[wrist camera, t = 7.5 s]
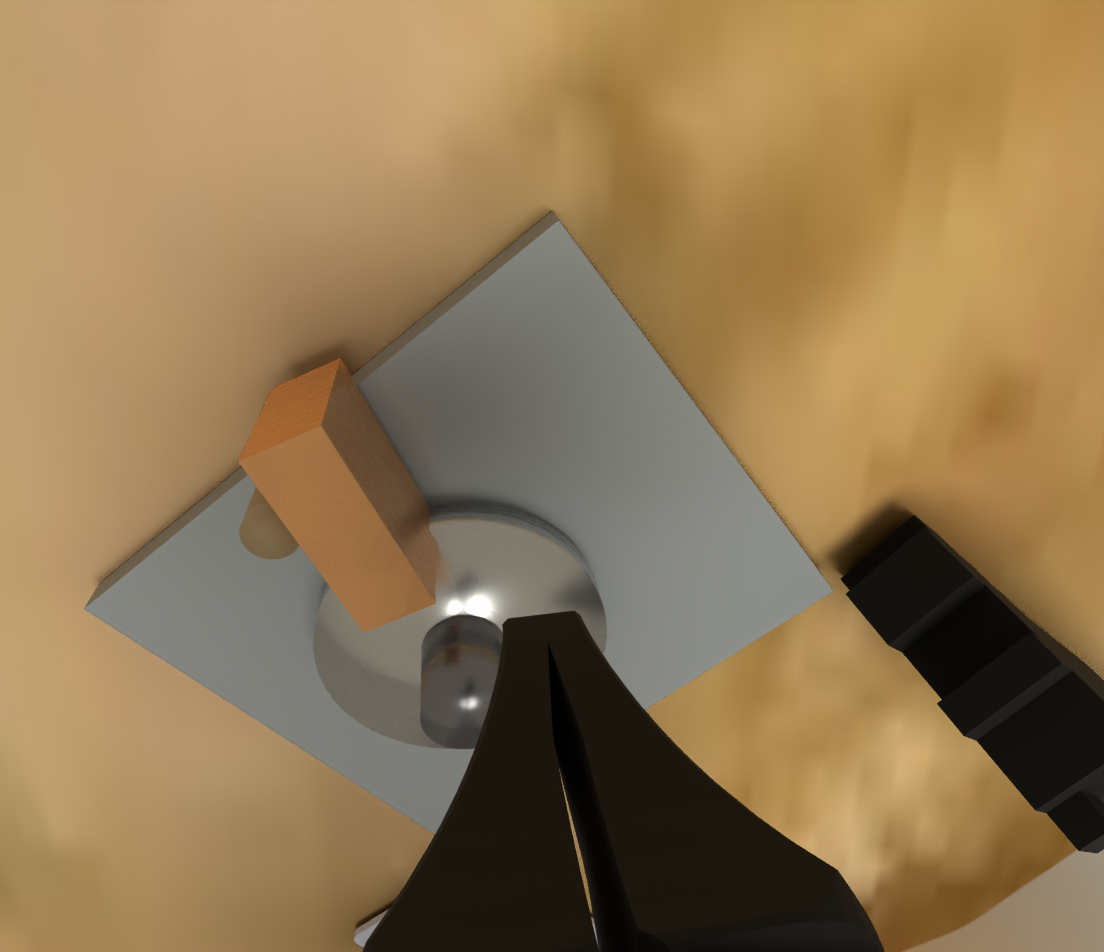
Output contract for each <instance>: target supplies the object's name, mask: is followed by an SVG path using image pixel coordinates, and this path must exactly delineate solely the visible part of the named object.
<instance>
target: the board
mask: <svg viewBox="0 0 1104 952" xmlns="http://www.w3.org/2000/svg"><path fill="white" fill-rule="evenodd" d="M352 378H353V380H354V381H355V383H356V385H357V387H358V388H359V390H360V392H361V393H362V395H363V397H364V398H365V400H366V402H367V403H368V405H369V407H370V408H371V410H372V412H373V413H374V415H375V417H376V418H377V420H378V422H379V423H380V425H381V427H382V428H383V430H384V432H385V433H386V435H387V437H388V438H389V440H390V442H391V444H392V445H393V447H394V449H395V450H396V452H397V454H398V455H399V457H400V459H401V460H402V462H403V464H404V465H405V467H406V469H407V470H408V472H409V474H410V475H411V477H412V479H413V480H414V482H415V484H416V485H417V487H418V489H419V490H420V492H421V494H422V496H423V497H424V499H425V501H426V502H427V504H428V506H429V507H434V506H441V505H450V504H483V505H492V506H498V507H503V508H507V509H512V510H515V511H518V512H521V513H524V514H527V515H530V516H532V517H534V518H536V519H538V520H540V521H542V522H544V523H546V524H548V525H550V526H551V527H553V528H554V529H556V530H557V531H558V532H560V533H561V534H563V535H564V536H565V537H566V538H567V539H568V540H569V541H570V542H572V543H573V544H574V545H575V547H576V548H577V549H578V550H579V551H580V553H581V554H582V555H583V556H584V558H585V559H586V561H587V563H588V565H589V566H590V568H591V570H592V572H593V575H594V577H595V580H596V583H597V586H598V589H599V593H600V596H601V599H602V603H603V606H604V611H605V616H606V621H607V639H606V646H605V651H604V657H605V658H606V660H607V661H608V663H609V664H610V665H611V667H612V668H613V670H614V671H615V672H616V674H617V675H618V676H619V678H620V679H621V680H622V682H623V683H624V684H625V686H626V687H627V688H628V690H629V691H630V692H631V694H632V695H633V696H634V697H635V699H636V700H637V701H638V702H639V704H640V705H641V706H642V707H643V709H644V710H645V709H647V708H649V707H650V706H652V705H653V704H655V703H656V702H658V701H660V700H661V699H663V698H664V697H666V696H668V695H669V694H671V693H672V692H674V691H676V690H677V689H679V688H680V687H682V686H684V685H685V684H687V683H688V682H690V681H692V680H693V679H695V678H696V677H698V676H699V675H701V674H703V673H704V672H706V671H707V670H709V669H711V668H712V667H714V666H715V665H717V664H719V663H720V662H722V661H723V660H725V659H727V658H728V657H730V656H731V655H733V654H734V653H736V652H738V651H739V650H741V649H742V648H744V647H746V646H747V645H749V644H750V643H752V642H754V641H755V640H757V639H758V638H760V637H762V636H763V635H765V634H766V633H768V632H770V631H771V630H773V629H774V628H776V627H777V626H779V625H781V624H782V623H784V622H785V621H787V620H789V619H790V618H792V617H793V616H795V615H797V614H798V613H800V612H801V611H803V610H805V609H806V608H808V607H809V606H811V605H812V604H814V603H816V602H817V601H819V600H820V599H822V598H824V597H825V596H827V595H828V594H830V593H832V592H833V589H832V588H831V586H830V585H829V584H828V582H827V581H826V579H825V578H824V577H823V575H822V574H821V572H820V571H819V570H818V568H817V567H816V566H815V564H814V563H813V562H812V560H811V559H810V557H809V556H808V555H807V553H806V552H805V551H804V549H803V548H802V547H801V545H800V544H799V543H798V541H797V540H796V539H795V537H794V536H793V535H792V533H791V532H790V531H789V529H788V528H787V526H786V525H785V524H784V522H783V521H782V520H781V518H780V517H779V516H778V514H777V513H776V512H775V510H774V509H773V508H772V506H771V505H770V504H769V502H768V501H767V499H766V498H765V497H764V495H763V494H762V493H761V491H760V490H759V489H758V487H757V486H756V485H755V483H754V482H753V481H752V479H751V478H750V477H749V475H748V474H747V473H746V471H745V470H744V468H743V467H742V466H741V464H740V463H739V462H738V460H737V459H736V458H735V456H734V455H733V454H732V452H731V451H730V450H729V448H728V447H727V446H726V444H725V443H724V441H723V440H722V439H721V437H720V436H719V435H718V433H717V432H716V431H715V429H714V428H713V427H712V425H711V424H710V423H709V421H708V420H707V419H706V417H705V416H704V415H703V413H702V412H701V410H700V409H699V408H698V406H697V405H696V404H695V402H694V401H693V400H692V398H691V397H690V396H689V394H688V393H687V392H686V390H685V389H684V388H683V386H682V385H681V383H680V382H679V381H678V379H677V378H676V377H675V375H674V374H673V373H672V371H671V370H670V369H669V367H668V366H667V365H666V363H665V362H664V361H663V359H662V358H661V357H660V355H659V354H658V352H657V351H656V350H655V348H654V347H653V346H652V344H651V343H650V342H649V340H648V339H647V338H646V336H645V335H644V334H643V332H642V331H641V330H640V328H639V327H638V326H637V324H636V323H635V321H634V320H633V319H632V317H631V316H630V315H629V313H628V312H627V311H626V309H625V308H624V307H623V305H622V304H621V303H620V301H619V300H618V299H617V297H616V296H615V294H614V293H613V292H612V290H611V289H610V288H609V286H608V285H607V284H606V282H605V281H604V280H603V278H602V277H601V276H600V274H599V273H598V272H597V270H596V269H595V268H594V266H593V265H592V263H591V262H590V261H589V259H588V258H587V257H586V255H585V254H584V253H583V251H582V250H581V249H580V247H579V246H578V245H577V243H576V242H575V241H574V239H573V238H572V236H571V235H570V234H569V232H568V231H567V230H566V228H565V227H564V226H563V224H562V223H561V222H560V220H559V219H558V218H557V216H556V215H555V214H554V212H553V211H551V212H550V213H549V214H548V215H546V216H545V217H544V218H543V219H542V220H540V221H539V222H538V223H537V224H536V225H534V226H533V227H532V228H531V229H529V230H528V231H527V232H526V233H525V234H523V235H522V236H521V237H520V238H519V239H517V240H516V241H515V242H514V243H512V244H511V245H510V246H509V247H508V248H506V249H505V250H504V251H503V252H502V253H500V254H499V255H498V256H497V257H495V258H494V259H493V260H492V261H491V262H489V263H488V264H487V265H486V266H485V267H483V268H482V269H481V270H480V271H478V272H477V273H476V274H475V275H474V276H472V277H471V278H470V279H469V280H468V281H466V282H465V283H464V284H463V285H462V286H460V287H459V288H458V289H457V290H455V291H454V292H453V293H452V294H451V295H449V296H448V297H447V298H446V299H445V300H443V301H442V302H441V303H440V304H438V305H437V306H436V307H435V308H434V309H432V310H431V311H430V312H429V313H428V314H426V315H425V316H424V317H423V318H421V319H420V320H419V321H418V322H417V323H415V324H414V325H413V326H412V327H411V328H409V329H408V330H407V331H406V332H404V333H403V334H402V335H401V336H400V337H398V338H397V339H396V340H395V341H394V342H392V343H391V344H390V345H389V346H387V347H386V348H385V349H384V350H383V351H381V352H380V353H379V354H378V355H377V356H375V357H374V358H373V359H372V360H370V361H369V362H368V363H367V364H366V365H364V366H363V367H362V368H361V369H360V370H358V371H357V372H356V373H355V374H353V375H352ZM255 488H256V485H255V484H254V483H253V481H252V480H251V478H250V477H249V476H248V474H247V473H246V472H245V470H244V469H243V468H242V467H241V468H239V469H238V470H237V471H236V472H235V473H233V474H232V475H231V476H230V477H228V478H227V479H226V480H225V481H224V482H222V483H221V484H220V485H219V486H218V487H216V488H215V489H214V490H213V491H211V492H210V493H209V494H208V495H207V496H205V497H204V498H203V499H202V500H201V501H199V502H198V503H197V504H196V505H194V506H193V507H192V508H191V509H190V510H188V511H187V512H186V513H185V514H184V515H182V516H181V517H180V518H179V519H177V520H176V521H175V522H174V523H173V524H171V525H170V526H169V527H168V528H167V529H165V530H164V531H163V532H162V533H160V534H159V535H158V536H157V537H156V538H154V539H153V540H152V541H151V542H150V543H148V544H147V545H146V546H145V547H143V548H142V549H141V550H140V551H139V552H137V553H136V554H135V555H134V556H133V557H131V558H130V559H129V560H128V561H126V562H125V563H124V564H123V565H122V566H120V567H119V568H118V569H117V570H116V571H114V572H113V573H112V574H111V575H109V576H108V577H107V578H106V579H105V580H103V581H102V582H101V583H100V584H99V585H98V587H97V588H96V590H95V591H94V593H93V595H92V596H91V598H90V600H89V601H88V603H87V605H86V606H85V608H84V609H85V610H86V611H88V612H89V613H91V614H93V615H94V616H96V617H97V618H99V619H100V620H102V621H103V622H105V623H107V624H108V625H110V626H111V627H113V628H114V629H116V630H117V631H119V632H121V633H122V634H124V635H125V636H127V637H128V638H130V639H131V640H133V641H135V642H136V643H138V644H139V645H141V646H142V647H144V648H145V649H147V650H149V651H150V652H152V653H153V654H155V655H156V656H158V657H159V658H161V659H163V660H164V661H166V662H167V663H169V664H170V665H172V666H173V667H175V668H177V669H178V670H180V671H181V672H183V673H184V674H186V675H187V676H189V677H191V678H192V679H194V680H195V681H197V682H198V683H200V684H201V685H203V686H205V687H206V688H208V689H209V690H211V691H212V692H214V693H215V694H217V695H219V696H220V697H222V698H223V699H225V700H226V701H228V702H229V703H231V704H233V705H234V706H236V707H237V708H239V709H240V710H242V711H243V712H245V713H247V714H248V715H250V716H251V717H253V718H254V719H256V720H257V721H259V722H261V723H262V724H264V725H265V726H267V727H268V728H270V729H271V730H273V731H275V732H276V733H278V734H279V735H281V736H282V737H284V738H285V739H287V740H289V741H290V742H292V743H293V744H295V745H296V746H298V747H299V748H301V749H303V750H304V751H306V752H307V753H309V754H310V755H312V756H313V757H315V758H317V759H318V760H320V761H321V762H323V763H324V764H326V765H327V766H329V767H331V768H332V769H334V770H335V771H337V772H338V773H340V774H341V775H343V776H345V777H346V778H348V779H349V780H351V781H352V782H354V783H355V784H357V785H359V786H360V787H362V788H363V789H365V790H366V791H368V792H369V793H371V794H373V795H374V796H376V797H377V798H379V799H380V800H382V801H383V802H385V803H387V804H388V805H390V806H391V807H393V808H394V809H396V810H397V811H399V812H401V813H402V814H404V815H405V816H407V817H408V818H410V819H411V820H413V821H415V822H416V823H418V824H419V825H421V826H422V827H424V828H425V829H427V830H429V831H430V832H432V833H433V834H436V832H437V830H438V828H439V826H440V824H441V823H442V821H443V819H444V817H445V814H446V812H447V810H448V808H449V806H450V804H451V802H452V800H453V798H454V796H455V794H456V792H457V790H458V788H459V785H460V783H461V781H462V778H463V776H464V774H465V772H466V769H467V767H468V764H469V762H470V759H471V757H472V754H473V752H474V749H475V748H473V749H442V748H430V747H422V746H416V745H412V744H407V743H403V742H400V741H397V740H394V739H391V738H388V737H385V736H383V735H381V734H379V733H376V732H374V731H372V730H370V729H368V728H367V727H365V726H364V725H362V724H360V723H359V722H357V721H356V720H355V719H353V718H352V717H351V716H350V715H348V714H347V713H346V712H345V711H344V710H343V709H342V708H341V707H340V706H339V705H338V704H337V703H336V702H335V701H334V700H333V698H332V697H331V695H330V694H329V693H328V691H327V690H326V688H325V686H324V684H323V682H322V680H321V678H320V676H319V674H318V670H317V667H316V663H315V659H314V649H313V640H314V629H315V624H316V619H317V614H318V609H319V604H320V600H321V596H322V592H323V589H324V587H325V584H326V581H325V579H324V578H323V577H322V575H321V574H320V573H319V571H318V570H317V568H316V567H315V566H314V564H313V563H312V562H311V560H310V559H309V558H308V556H307V555H306V553H305V552H304V551H303V549H302V548H301V547H300V545H299V547H298V548H297V549H296V551H295V552H294V553H292V554H291V555H289V556H287V557H285V558H281V559H264V558H261V557H258V556H256V555H254V554H252V553H251V552H249V551H248V550H247V549H246V548H245V547H244V545H243V544H242V542H241V540H240V536H239V530H240V526H241V524H242V521H243V519H244V516H245V513H246V511H247V508H248V506H249V503H250V501H251V498H252V496H253V493H254V490H255Z"/></svg>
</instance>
